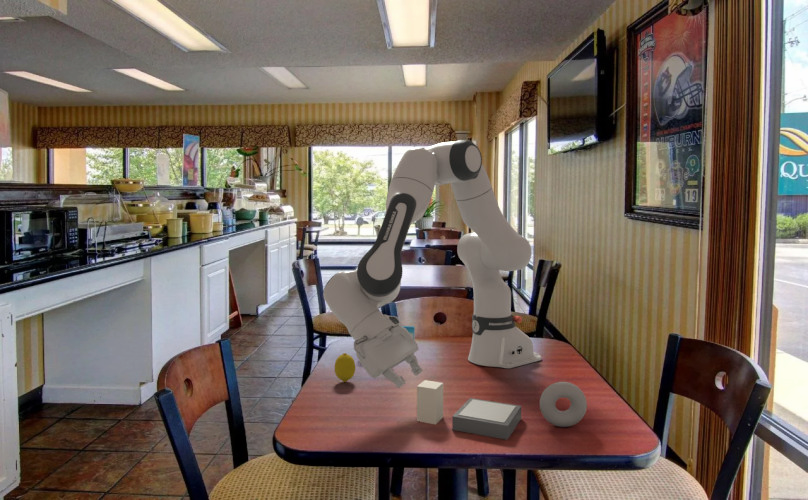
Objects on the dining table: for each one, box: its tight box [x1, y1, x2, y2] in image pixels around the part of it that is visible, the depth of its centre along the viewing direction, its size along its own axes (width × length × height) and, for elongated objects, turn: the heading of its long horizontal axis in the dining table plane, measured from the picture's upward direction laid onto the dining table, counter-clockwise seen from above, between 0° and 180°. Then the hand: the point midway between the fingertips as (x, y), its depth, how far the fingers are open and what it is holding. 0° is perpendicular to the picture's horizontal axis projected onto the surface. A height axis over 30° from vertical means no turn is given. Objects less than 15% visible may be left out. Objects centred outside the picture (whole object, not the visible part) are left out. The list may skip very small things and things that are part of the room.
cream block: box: [416, 379, 444, 425], centre depth 125 cm, size 4×4×8 cm
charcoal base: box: [451, 397, 522, 441], centre depth 123 cm, size 12×12×3 cm
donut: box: [539, 381, 588, 428], centre depth 121 cm, size 10×4×10 cm, turn 85°
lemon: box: [334, 352, 356, 383], centre depth 150 cm, size 6×6×8 cm
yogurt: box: [402, 325, 416, 341], centre depth 190 cm, size 12×2×6 cm, turn 81°
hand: (411, 379), depth 127 cm, fingers open, 8 cm apart
